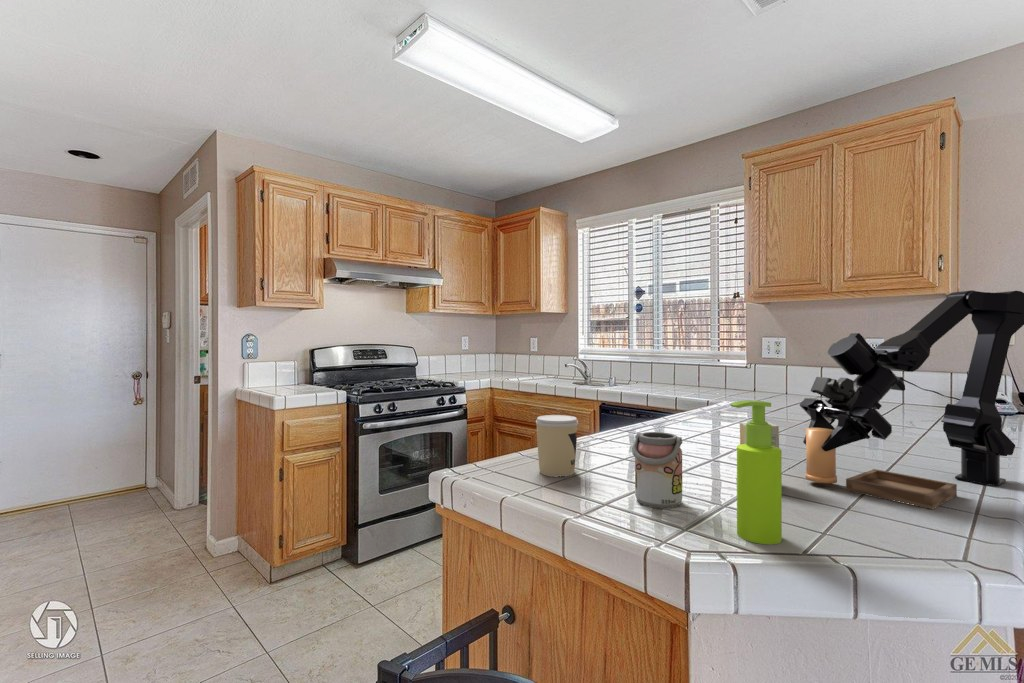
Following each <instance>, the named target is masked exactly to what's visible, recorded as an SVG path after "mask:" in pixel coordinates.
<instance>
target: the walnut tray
mask: <svg viewBox="0 0 1024 683" xmlns="http://www.w3.org/2000/svg"><path fill="white" fill-rule="evenodd" d="M957 485H958V484H957V483H953V482H945V481H941V480H937V479H936V480H935V479H930V478H924V477H920V476H915V475H914V476H913V475H909V474H903V473H899V472H891V471H887V470H882V469H876V468H873V469H871V470H867V471H864V472H862V473H860V474H857V475H854V476H850V477H847V478H846V479H845V486H846V487H845V490H846V491H847V490H848V492H851V491H853V492H852V493H856V492H858V493H857V494H860V493H863V494H862V495H865V494H868V495H867V496H869V495H872V496H871V497H874V496H876V497H875V498H878V497H880V498H879V499H883V498H886V499H885V500H887V499H890V500H889V501H891V500H895V501H894V502H896V501H900V502H904V503H903V504H905V503H909V504H914V505H917V506H916V507H918V506H922V507H925V508H924V509H927V508H930V509H929V510H931V509H932V510H934V509H936V508H937V506H938V507H940V506H941V505H943V504H945V503H946V501H947V502H948V500H949V501H951V500H953V499H954V498H955V496H956V497H957V496H958V495H957V492H958V490H957V488H958V487H957ZM900 502H899V503H900ZM944 502H945V503H944ZM942 503H943V504H942ZM909 504H908V505H909ZM914 505H913V506H914ZM939 505H940V506H939ZM922 507H921V508H922ZM935 507H936V508H935ZM933 508H934V509H933Z"/></svg>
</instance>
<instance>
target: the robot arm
mask: <svg viewBox="0 0 1024 683" xmlns="http://www.w3.org/2000/svg"><path fill="white" fill-rule="evenodd" d="M968 315H971V321H972V324H973V326H974V327H975V329H976V331H977V335H976V340H975V344H974V348H973V351H972V355H971V360H970V363H969V368H968V372H967V375H966V380H965V384H964V389H963V392H962V396H961V398H960V399H959V400H958V401H957V402H956V403H955V404H954V403H947V404H946V406H945V409H944V415H943V417H942V418H941V420H940V422H941V423H942V430H943V432H944V433H945V436H946V438H947V441H948V444H949V446H950V447H952V448H958V449H960V453H961V454H960V455H961V456H960V458H961V459H960V465H961V466H960V473H959V474H957V475H954V479H956V480H960V481H967V482H971V483H975V484H983V485H986V486H987V485H989V486H992V487H993V486H994V487H999V486H1001V485H1002V484H1004V483H1006V481H1007V479H1006V478H1002V477H1000V476H1001V474H1000V472H1001V470H1000V469H1001V466H1000V465H1001V463H1000V462H1001V460H1000V459H1001V457H1008V456H1013V454H1014V451H1015V448H1016V444H1015V443H1014V442H1013V441H1012V439H1010V438H1009V437H1008V436H1007V435H1006V434H1005V433H1004V432H1003V430H1002V424H1003V423H1002V422H1003V418H1002V416H1001V415H1000V412H999V410H998V409H997V406H996V400H997V396H998V392H999V388H1000V384H1001V380H1002V377H1003V372H1004V368H1005V363H1006V359H1007V356H1008V351H1009V348H1010V342H1011V339H1012V336H1013V335H1015V333H1017V332H1018V331H1019V330H1020V329H1021V328H1022V327H1024V292H1023V291H1021V290H1009V291H1000V292H999V291H997V292H985V291H976V290H971V289H970V290H962V291H961V290H960V291H952V292H951V293H949V294H947V295H946V296H945V297H944V300H943V301H942V302H940V303H939V304H938V305H937V306H935V307H934V308H933V309H932V310H931V311H929V312H928V313H927V314H926V315H924V317H922V318H921V319H920V320H919V321H917V323H916V324H914V325H913V326H912V327H911V328H910V329H909V330H906V331H905V332H903V333H900V334H898V335H895V336H892V337H890V338H889V339H887V340H885V341H883V342H882V343H880V344H878V345H877V346H876V347H875V348H873V347H872V346H871V345H870V344H869V343H868V342H867V341H866V340H865V337H864V336H863V335H862V334H861V333H860V332H859V333H856V332H854V333H853V332H851V333H850V334H849V335H848V336H846V337H843V338H842V339H839V340H838V341H837V342H834V343H832V344H831V345H830V346H829V348H828V350H827V354H828V356H830V358H832V359H833V361H835V363H836V364H838V366H839V367H840V368H841V369H842V370H843V371H844V372H845V373H846V374H847V375H848V376H849V375H850V376H854V375H855V376H856V377H855V378H854V379H850V378H848V377H839V378H838V379H835V378H830V377H823V376H822V377H821V376H816V377H815V380H814V381H813V384H812V386H811V388H810V392H811V393H814V394H818V395H820V396H822V397H825V402H826V403H827V404H828V405H830V406H831V407H829V406H828V405H827V404H826V403H825V402H824V401H823V400H822V399H819V398H813V397H812V398H811V397H810V398H809V397H804V399H803V400H802V401H801V402H800V403H799V407H800V408H801V409H802V410H803V411H804V412H806V414H807V415H808V416H809V417H810V422H809V426H808V428H827V429H832V430H834V431H833V432H832V433H831V434H830V436H829V437H828V438H827V440H826V441H825V442H824V444H823V445H822V447H821V448H822V449H823V450H824V451H829V450H832V449H835V448H836V449H839V448H840V447H843V446H846V445H850V444H852V443H855V442H858V441H862V440H869V439H870V438H871V436H872V437H873V438H876V439H881V440H884V441H886V439H888V438H889V436H890V435H891V434H892V433H893V430H892V429H893V426H892V425H891V423H890V422H889V421H888V420H887V419H886V418H885V417H884V416H883V415H882V414H881V413H880V412H879V411H878V410H880V409H881V408H882V407H883V406H882V404H881V403H880V401H881V400H882V399H883V398H884V397H885V396H886V395H887V393H889V392H890V391H891V390H893V391H901V392H902V391H903V392H905V390H906V384H905V383H904V377H902V376H897V375H896V374H895V373H894V372H909V373H910V372H911V373H913V372H915V371H918V370H919V368H921V367H922V365H923V364H924V363H925V362H926V360H928V359H929V357H930V353H931V349H932V347H933V345H935V343H936V342H938V341H939V340H940V339H941V338H943V337H944V336H945V335H946V334H947V333H949V332H950V331H951V330H952V329H953V328H954V327H955V326H957V325H958V324H959V323H960V322H962V321H963V320H965V318H966V317H967V316H968ZM893 371H894V372H893ZM836 420H837V425H836V427H834V426H833V425H832V424H833V423H835V421H836ZM870 432H871V436H870V435H869V434H870ZM802 443H803V444H804V445H805V446H806V435H805V436H804V439H803V441H802Z"/></svg>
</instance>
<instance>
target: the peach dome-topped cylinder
mask: <svg viewBox="0 0 1024 683" xmlns="http://www.w3.org/2000/svg"><path fill="white" fill-rule="evenodd" d="M833 431H834V430H832V429H827V428H809V427H806V428H805V436H806V445H805V457H806V459H805V460H806V462H805V470H806V471H805V473H804V476H805V477H804V478H805V479H806V480H807V481H810V482H814V483H819V484H837V483H838V476H837V462H836V460H837V458H836V456H837V454H836V453H837V452H836V449H837V448H835V449H832V450H829V451H824V450H823V449H822V448H821V447H822V445H823V444H824V442H825V441H826V440H827V438H828V437H829V436H830V434H831V433H832V432H833Z"/></svg>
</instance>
